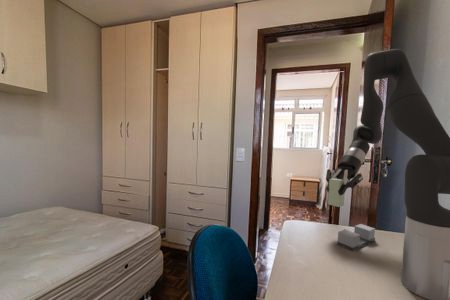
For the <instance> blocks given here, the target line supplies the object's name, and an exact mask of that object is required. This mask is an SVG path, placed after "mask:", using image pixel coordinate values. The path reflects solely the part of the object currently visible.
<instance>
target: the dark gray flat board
mask: <svg viewBox="0 0 450 300" xmlns="http://www.w3.org/2000/svg"><path fill="white" fill-rule="evenodd" d="M375 241H376V238H375V237H374V238H373V239H371V240H366V239H364V238H361V237H360V242H359V245H358V246H356V247H353V248H352V247H349V246H347V245H345V244H342V243H340V242H338V240H337V241H336V245H338V246H340V247H342V248H344V249H348V250H350V251H352V252H355V251H357V250H359V249H361V248H363V247H364V246H365V247H366V246H367V245H369V244H371V243H373V242H375Z"/></svg>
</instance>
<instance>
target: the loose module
mask: <svg viewBox="0 0 450 300" xmlns="http://www.w3.org/2000/svg"><path fill="white" fill-rule="evenodd" d="M343 182H344V180H343V179H337V178H333V179H330V180H329V192H328V197H327V205H329V206H333V207H337V208H340V207H344V205H345V203H344V202H345V193H344V194H342V195H339V193H338V190H339V189H340V187H341V185H342V184H343Z"/></svg>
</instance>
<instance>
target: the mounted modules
mask: <svg viewBox="0 0 450 300" xmlns="http://www.w3.org/2000/svg"><path fill="white" fill-rule="evenodd" d="M375 232H376V228H375V227H371V226H369V225H366V224H363V223H359V224H357V225H354V231H352V230H348V229H342V230H339V231H338V233H337V241H338V242H340V243H342V244H345V245H347V246H349V247H352V248H353V247H356V246H358V245H359V242H360V237H361V238H364V239H366V240H371V239H373V238H375V234H376V233H375Z"/></svg>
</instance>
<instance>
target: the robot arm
mask: <svg viewBox="0 0 450 300" xmlns="http://www.w3.org/2000/svg"><path fill="white" fill-rule="evenodd" d="M363 67H364V68H363V90H362V91H363V93H362V94H363V100H362V101H363V104H362V109H361V115H360V125H357V126H356V127H355V128H354V130H353V134H352V135H353V136H352V140H351V143H350V145H349V147H348V148H347V150H346V151H345V152H344V154H343V156H342V157H341V159H340V160H339V162H338V164H337V166H336V168H334V169H332V170H331V169H329V168H328V169H326V175H325V176H326V177H325V180H326V183H327V185H326V187H325V189H326V192H327V193H329V180H330V179H333V178H337V179H343V180H344V182H343V184H342V185H341V187H340V189H339V190H338V193H339V195H342V194H344V195H345V193H346V191H347V189H349V188H351V189H355V188H356V186H358V185H359V184H360V183H361V182H362V181H363V179H364V177H363V175H362V173H358V172H359V171H360V168H361V167H362V165H363V164H364V161H365V158H366V157H367V155H368V152H369V150H370V148H371V147H370V145H375V144H377V143H379V142H380V141H381V139H382V136H383V133H382V131H383V130H382V126H381V122H382V121H381V120H382V116H383V112H384V103H383V100H382V99H381V97H380V96H379V94H378V92H377V90H376V88H375V84H376V81H377V80H378V81H379V80H384V79H391V78H392V79H394V81H395V83H396V84H395V86H394V88H393V90H392V92H391V94H390V95H389V97H388V100H387V103H386V109H387V112H388V115H389V117H390V119H391V122H392V124H393V125H394V126H395V127H396V129H397V130H398V131H400V132H401V133H402V134H404V136H406V137H407V138H409V139H410V140H411V141H413V142H414V143H415V144H417V146H419V147H420V148H421V150H422V151H423V152H424V154H423V153H421V154H416V155H413V156H412V157H411V158H410V159H408V161H407V163H406V167H405V172H404V205H405V209H406V210H405V211H406V214H405V228H404V237H403V250H402V261H401V262H402V263H401V272H400V282H401V284H402V286H403V287H404V288H406V289H407V290H408V291H409V292H412V293H413V294H415V295H417V296H419V297H421V298H424V299H426V300H450V209H448V208H445V207H443V206H442V205H441V204H440V203H439V194H441V195H442V194H443V195H450V135H449V134H448V133H447V131H446V129H445V127H444V126H443V124H442V123H441V121H440V119H439V118H438V116H437V114H436V113H435V111H434V109H433V107H432V104H431V103H430V102H429V100H428V98H427V96H426V94H424V92H423V90H422V88H421V87H420V85H419V83H418V81H417V80H416V77H415V75H414V73H413V70H412V67H411V64H410V63H409V60H408V57H407V55H406V53H405V52H404V51H403V49H400V48H392V49H386V50H381V51H375V52H371V53H369V54H368V55H367V56H366V59H365V62H364V65H363Z"/></svg>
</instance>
